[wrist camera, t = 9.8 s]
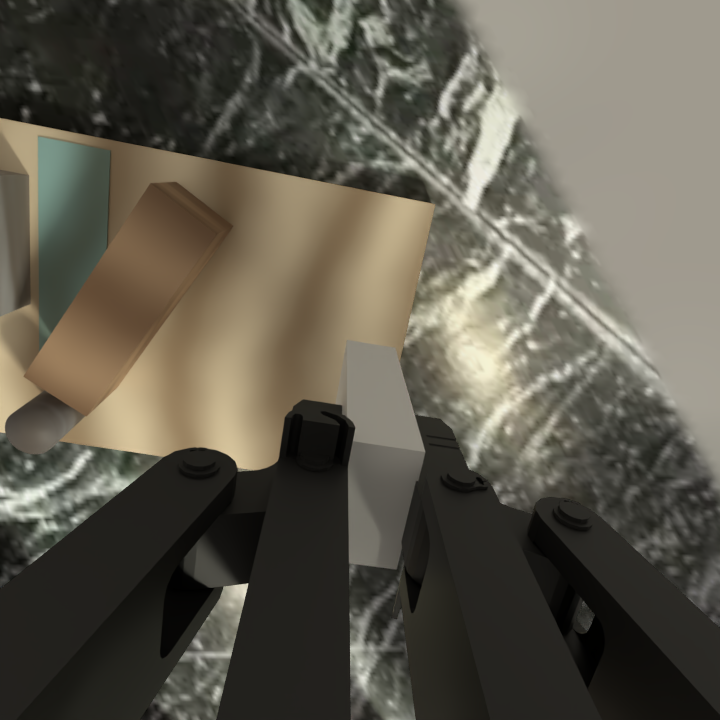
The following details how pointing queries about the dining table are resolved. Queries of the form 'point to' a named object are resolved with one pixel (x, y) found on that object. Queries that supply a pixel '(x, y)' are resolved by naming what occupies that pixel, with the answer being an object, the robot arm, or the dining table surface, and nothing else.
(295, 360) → the board
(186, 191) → the leg
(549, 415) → the dining table surface
